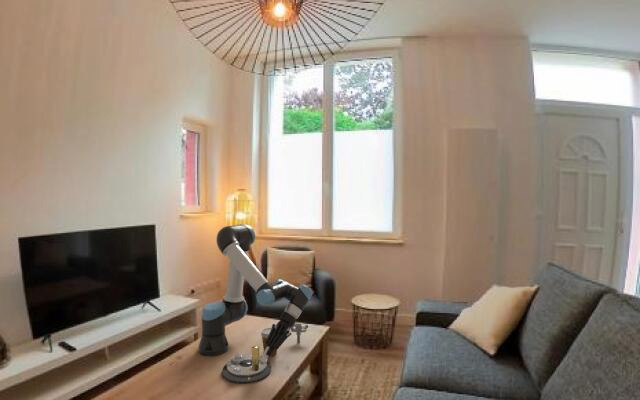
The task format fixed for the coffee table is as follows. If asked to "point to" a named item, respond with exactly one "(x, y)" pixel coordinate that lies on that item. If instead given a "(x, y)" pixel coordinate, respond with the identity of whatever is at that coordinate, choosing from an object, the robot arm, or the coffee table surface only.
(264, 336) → the disposable coffee cup
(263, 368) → the lugged metal disc
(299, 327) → the mechanical component
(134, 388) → the coffee table surface
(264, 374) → the base plate
